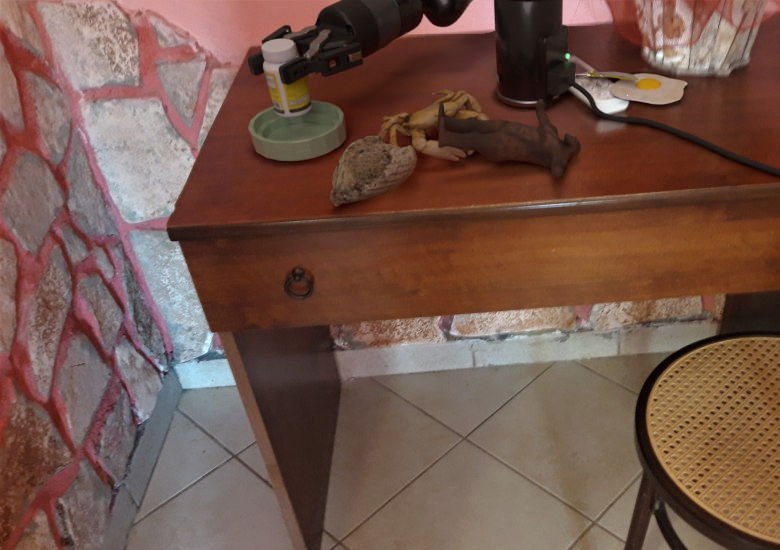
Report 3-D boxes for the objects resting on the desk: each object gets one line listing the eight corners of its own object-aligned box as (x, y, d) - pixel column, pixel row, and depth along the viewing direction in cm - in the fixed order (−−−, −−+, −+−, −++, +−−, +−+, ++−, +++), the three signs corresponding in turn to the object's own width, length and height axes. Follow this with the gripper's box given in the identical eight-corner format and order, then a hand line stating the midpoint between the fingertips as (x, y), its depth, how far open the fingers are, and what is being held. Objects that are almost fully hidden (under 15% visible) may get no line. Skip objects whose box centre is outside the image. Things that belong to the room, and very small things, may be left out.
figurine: (438, 76, 97) (574, 97, 101) (432, 113, 100) (565, 132, 104) (442, 147, 84) (598, 168, 88) (436, 187, 88) (586, 205, 92)
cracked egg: (628, 70, 117) (628, 62, 116) (698, 80, 112) (699, 72, 111) (599, 95, 110) (599, 87, 109) (673, 107, 105) (673, 98, 105)
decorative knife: (647, 71, 112) (635, 79, 109) (647, 74, 112) (635, 83, 109) (575, 68, 117) (561, 76, 114) (575, 72, 118) (561, 80, 114)
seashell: (335, 231, 92) (376, 209, 84) (297, 182, 90) (336, 154, 82) (394, 184, 98) (437, 159, 91) (360, 136, 96) (402, 107, 88)
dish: (366, 134, 104) (363, 112, 102) (300, 173, 96) (295, 151, 94) (301, 113, 109) (297, 92, 107) (234, 149, 101) (228, 128, 99)
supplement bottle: (316, 102, 101) (302, 37, 95) (306, 118, 98) (291, 52, 92) (281, 101, 101) (265, 36, 96) (269, 118, 98) (252, 52, 92)
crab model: (430, 181, 93) (427, 138, 89) (361, 150, 99) (356, 108, 96) (514, 141, 102) (515, 100, 98) (446, 115, 108) (444, 76, 104)
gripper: (404, 64, 103) (314, 114, 93) (326, 43, 109) (235, 89, 99) (396, 6, 98) (301, 52, 88) (315, -12, 104) (217, 29, 94)
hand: (266, 71), depth 94 cm, fingers closed on supplement bottle, 4 cm apart
